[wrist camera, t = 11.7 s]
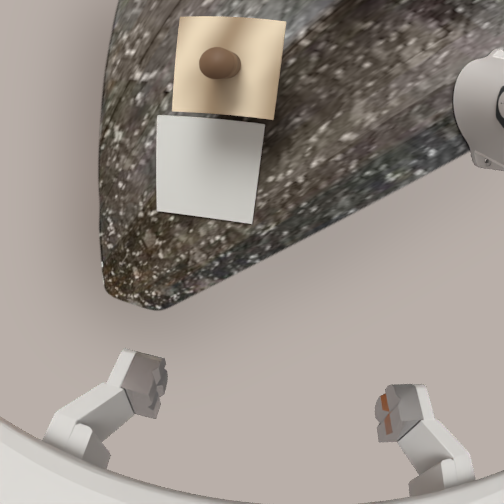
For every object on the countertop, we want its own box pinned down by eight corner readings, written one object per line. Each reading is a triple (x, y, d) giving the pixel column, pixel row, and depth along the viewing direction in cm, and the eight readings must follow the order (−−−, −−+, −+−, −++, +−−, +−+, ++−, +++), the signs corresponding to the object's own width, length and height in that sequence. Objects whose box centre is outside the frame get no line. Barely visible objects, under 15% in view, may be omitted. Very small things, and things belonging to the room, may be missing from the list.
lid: (286, 23, 23) (286, 12, 18) (273, 118, 29) (271, 127, 24) (183, 18, 23) (163, 9, 19) (176, 109, 29) (154, 117, 24)
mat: (265, 124, 36) (265, 124, 36) (252, 222, 44) (252, 224, 44) (158, 115, 37) (157, 115, 36) (158, 209, 44) (157, 211, 44)
